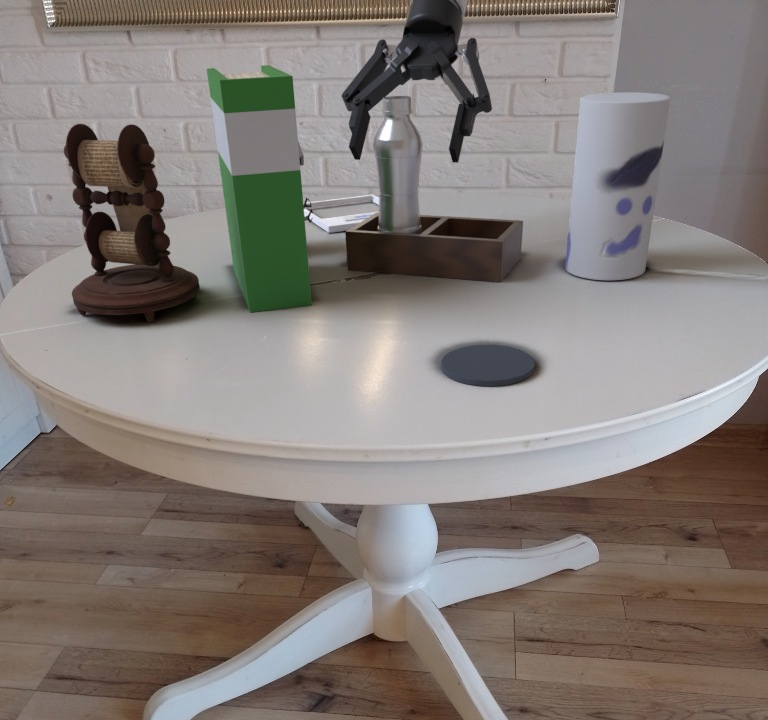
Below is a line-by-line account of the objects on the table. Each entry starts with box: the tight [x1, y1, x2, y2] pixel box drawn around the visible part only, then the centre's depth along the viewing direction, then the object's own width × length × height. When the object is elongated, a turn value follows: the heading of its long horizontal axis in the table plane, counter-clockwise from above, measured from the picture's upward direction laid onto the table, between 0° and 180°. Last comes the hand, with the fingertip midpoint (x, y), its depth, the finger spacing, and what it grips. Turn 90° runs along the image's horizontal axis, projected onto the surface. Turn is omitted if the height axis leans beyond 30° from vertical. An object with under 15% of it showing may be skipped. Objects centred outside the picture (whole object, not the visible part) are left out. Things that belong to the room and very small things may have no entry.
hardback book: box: [206, 64, 313, 313], centre depth 94 cm, size 18×7×24 cm, turn 15°
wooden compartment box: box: [344, 211, 524, 283], centre depth 106 cm, size 21×11×5 cm, turn 69°
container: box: [564, 91, 671, 281], centre depth 97 cm, size 10×10×20 cm
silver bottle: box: [372, 95, 424, 234], centre depth 103 cm, size 6×7×20 cm
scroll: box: [63, 123, 201, 324], centre depth 91 cm, size 15×15×20 cm
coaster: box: [440, 344, 536, 387], centre depth 77 cm, size 9×9×1 cm
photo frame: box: [303, 194, 379, 234], centre depth 132 cm, size 15×1×18 cm
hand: (402, 154), depth 103 cm, fingers open, 13 cm apart
